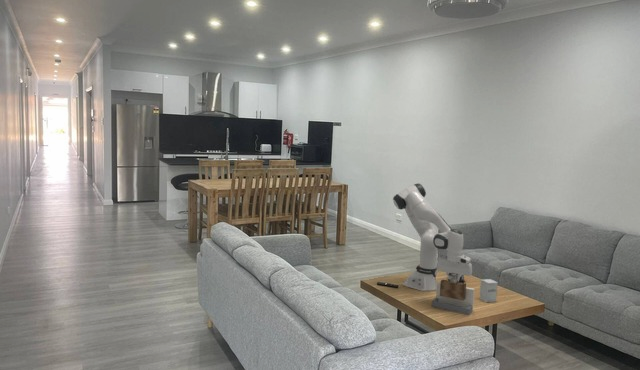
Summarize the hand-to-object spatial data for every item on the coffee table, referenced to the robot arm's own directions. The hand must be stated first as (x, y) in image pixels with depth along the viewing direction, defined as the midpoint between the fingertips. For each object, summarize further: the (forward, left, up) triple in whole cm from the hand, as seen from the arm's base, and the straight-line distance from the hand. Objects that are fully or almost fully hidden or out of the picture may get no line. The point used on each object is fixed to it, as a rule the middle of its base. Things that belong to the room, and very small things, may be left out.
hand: (453, 280), depth 273 cm
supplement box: (+14, +30, -18) cm, 37 cm away
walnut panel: (0, 0, -10) cm, 10 cm away
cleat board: (0, +1, -17) cm, 17 cm away
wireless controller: (-13, +54, -18) cm, 59 cm away
